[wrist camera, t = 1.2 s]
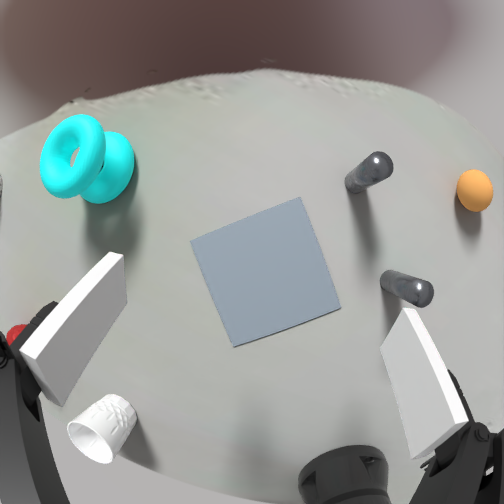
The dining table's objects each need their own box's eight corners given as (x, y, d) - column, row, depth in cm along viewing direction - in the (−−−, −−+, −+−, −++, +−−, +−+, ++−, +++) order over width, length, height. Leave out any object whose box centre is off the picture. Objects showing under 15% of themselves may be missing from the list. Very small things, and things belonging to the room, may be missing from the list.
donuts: (48, 114, 24) (107, 108, 24) (90, 135, 34) (145, 135, 33) (28, 193, 25) (84, 200, 24) (76, 200, 35) (129, 208, 34)
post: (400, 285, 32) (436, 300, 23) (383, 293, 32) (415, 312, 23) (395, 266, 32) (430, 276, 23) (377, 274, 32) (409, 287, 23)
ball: (481, 206, 30) (504, 203, 24) (457, 218, 31) (481, 216, 25) (468, 169, 30) (491, 161, 24) (444, 179, 30) (467, 171, 25)
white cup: (149, 424, 36) (123, 462, 26) (118, 432, 37) (91, 464, 27) (121, 385, 36) (87, 418, 26) (91, 395, 37) (58, 424, 27)
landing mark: (340, 307, 33) (341, 307, 32) (233, 346, 34) (233, 346, 34) (300, 196, 32) (300, 196, 32) (190, 241, 34) (189, 240, 33)
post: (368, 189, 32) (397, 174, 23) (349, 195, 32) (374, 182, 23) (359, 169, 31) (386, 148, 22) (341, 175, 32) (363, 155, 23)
